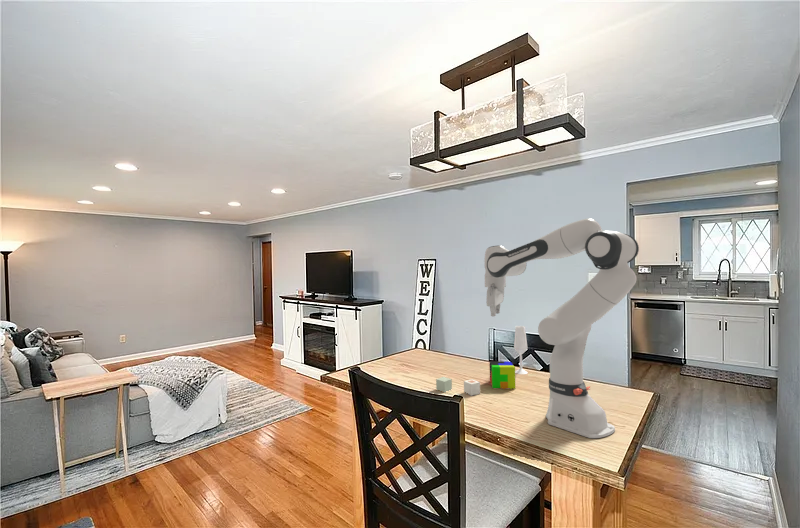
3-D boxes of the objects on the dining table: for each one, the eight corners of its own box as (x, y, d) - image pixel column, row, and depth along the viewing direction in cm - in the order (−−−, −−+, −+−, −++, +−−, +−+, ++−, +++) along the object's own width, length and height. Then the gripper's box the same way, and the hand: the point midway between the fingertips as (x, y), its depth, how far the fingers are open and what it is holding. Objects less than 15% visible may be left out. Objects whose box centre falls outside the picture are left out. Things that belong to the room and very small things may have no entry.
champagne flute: (529, 371, 193) (528, 326, 193) (525, 374, 187) (525, 328, 187) (516, 369, 197) (515, 325, 197) (512, 373, 191) (511, 327, 191)
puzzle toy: (510, 382, 177) (510, 361, 177) (515, 389, 167) (515, 367, 167) (489, 381, 178) (489, 361, 178) (493, 388, 168) (492, 367, 168)
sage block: (451, 390, 167) (451, 379, 167) (444, 392, 164) (444, 381, 164) (443, 387, 171) (443, 376, 171) (436, 390, 167) (436, 379, 167)
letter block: (480, 393, 161) (479, 382, 161) (471, 396, 159) (471, 383, 159) (472, 390, 166) (472, 379, 166) (464, 392, 163) (463, 380, 163)
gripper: (498, 284, 149) (498, 318, 149) (506, 281, 167) (506, 312, 167) (482, 284, 151) (482, 317, 151) (492, 281, 170) (492, 311, 170)
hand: (495, 314), depth 159 cm, fingers open, 8 cm apart
